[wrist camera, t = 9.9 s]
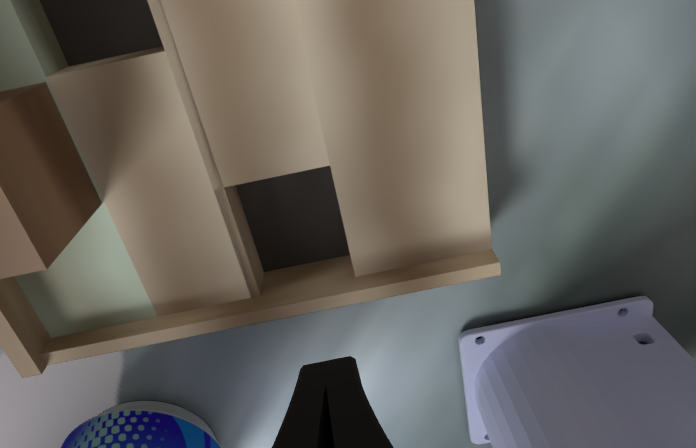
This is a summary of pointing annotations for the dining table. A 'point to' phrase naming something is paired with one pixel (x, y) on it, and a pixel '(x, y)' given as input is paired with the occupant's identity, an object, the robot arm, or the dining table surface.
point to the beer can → (143, 428)
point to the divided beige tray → (248, 163)
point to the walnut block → (38, 182)
